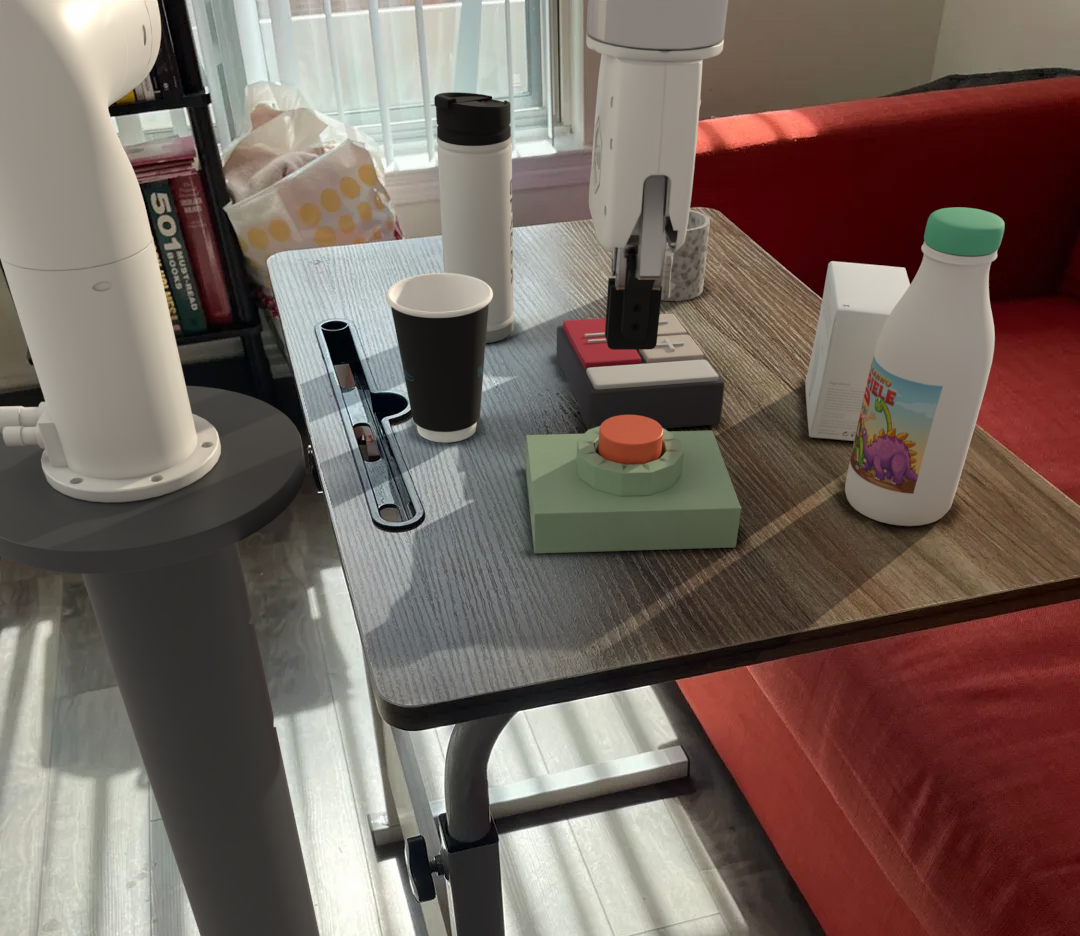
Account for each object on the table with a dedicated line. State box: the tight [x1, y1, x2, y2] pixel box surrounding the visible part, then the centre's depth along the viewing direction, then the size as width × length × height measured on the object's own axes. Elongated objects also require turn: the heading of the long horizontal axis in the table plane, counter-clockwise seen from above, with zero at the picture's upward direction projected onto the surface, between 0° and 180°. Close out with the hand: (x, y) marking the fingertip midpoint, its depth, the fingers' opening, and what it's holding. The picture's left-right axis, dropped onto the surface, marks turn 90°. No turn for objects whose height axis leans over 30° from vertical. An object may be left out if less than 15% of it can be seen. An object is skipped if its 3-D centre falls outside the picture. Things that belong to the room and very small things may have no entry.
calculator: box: [556, 313, 726, 431], centre depth 93 cm, size 11×4×15 cm
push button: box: [598, 415, 663, 465], centre depth 77 cm, size 4×4×2 cm
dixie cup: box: [385, 272, 493, 443], centre depth 86 cm, size 8×8×11 cm
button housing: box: [525, 426, 742, 555], centre depth 79 cm, size 14×11×5 cm
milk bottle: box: [844, 206, 1006, 527], centre depth 75 cm, size 8×8×20 cm
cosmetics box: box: [804, 260, 911, 442], centre depth 88 cm, size 10×6×10 cm, turn 172°
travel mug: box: [433, 91, 515, 344], centre depth 97 cm, size 6×7×20 cm
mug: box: [661, 209, 711, 302], centre depth 108 cm, size 10×7×7 cm
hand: (630, 343), depth 72 cm, fingers closed
